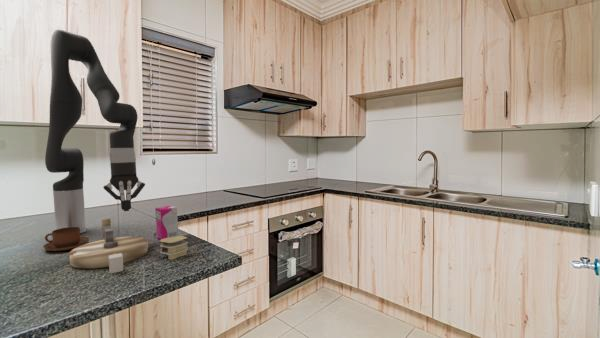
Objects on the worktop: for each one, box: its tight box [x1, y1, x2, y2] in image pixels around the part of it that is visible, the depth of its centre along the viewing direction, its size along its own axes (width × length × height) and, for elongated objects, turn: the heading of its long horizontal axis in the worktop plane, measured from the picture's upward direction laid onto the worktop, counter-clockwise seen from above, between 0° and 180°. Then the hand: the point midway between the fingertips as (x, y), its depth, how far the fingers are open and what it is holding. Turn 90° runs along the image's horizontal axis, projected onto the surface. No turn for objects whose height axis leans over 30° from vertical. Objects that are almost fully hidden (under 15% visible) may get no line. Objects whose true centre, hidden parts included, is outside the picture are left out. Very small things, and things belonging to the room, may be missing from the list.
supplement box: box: [155, 205, 180, 241], centre depth 107 cm, size 6×6×12 cm
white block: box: [108, 253, 124, 274], centre depth 80 cm, size 5×3×4 cm, turn 37°
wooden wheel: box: [68, 218, 149, 269], centre depth 91 cm, size 24×20×9 cm
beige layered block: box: [159, 235, 189, 260], centre depth 89 cm, size 10×9×6 cm
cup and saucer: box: [43, 227, 90, 252], centre depth 98 cm, size 12×12×6 cm
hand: (126, 210), depth 103 cm, fingers closed
